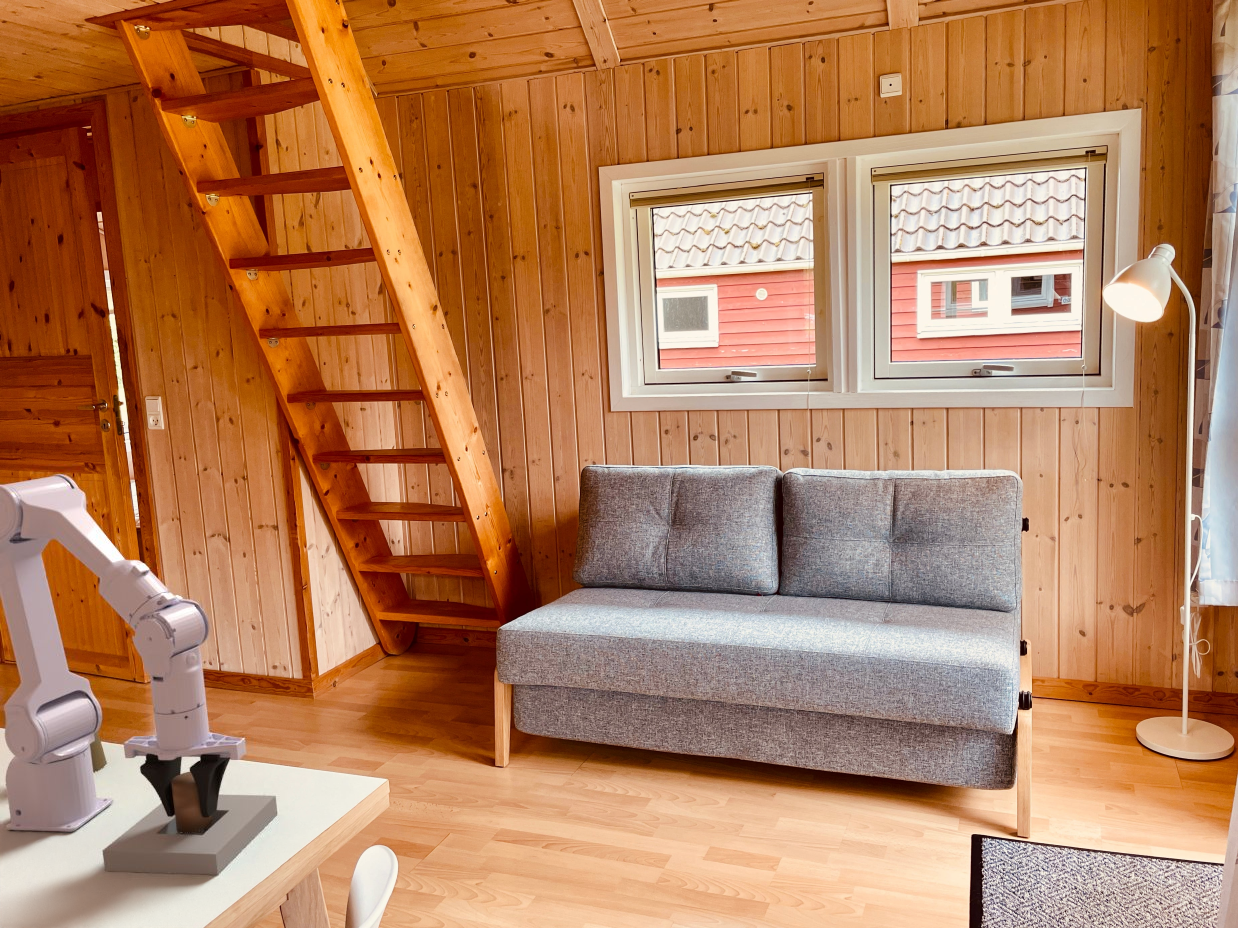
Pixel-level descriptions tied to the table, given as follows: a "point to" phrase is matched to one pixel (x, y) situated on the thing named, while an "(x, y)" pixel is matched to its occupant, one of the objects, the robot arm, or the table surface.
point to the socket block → (191, 839)
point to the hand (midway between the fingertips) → (192, 813)
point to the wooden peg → (187, 805)
